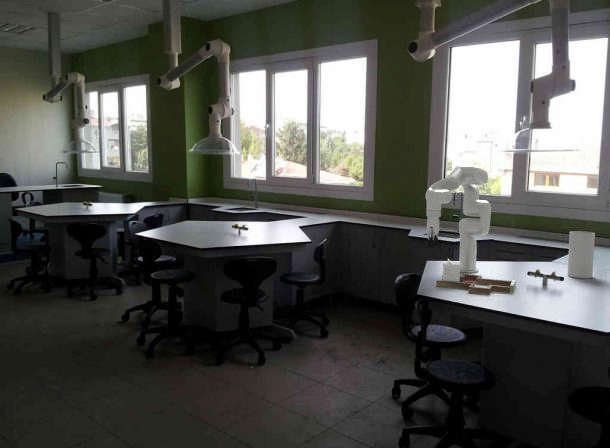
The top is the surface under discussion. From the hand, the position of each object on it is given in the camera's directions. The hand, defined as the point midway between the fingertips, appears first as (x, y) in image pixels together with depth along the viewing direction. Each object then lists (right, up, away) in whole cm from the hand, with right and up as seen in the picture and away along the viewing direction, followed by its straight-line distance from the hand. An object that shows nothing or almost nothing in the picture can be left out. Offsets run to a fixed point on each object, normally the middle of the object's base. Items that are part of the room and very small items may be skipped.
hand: (433, 246), depth 281 cm
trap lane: (+20, -21, -7) cm, 30 cm away
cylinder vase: (+87, -18, +16) cm, 90 cm away
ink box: (+9, -21, -2) cm, 23 cm away
